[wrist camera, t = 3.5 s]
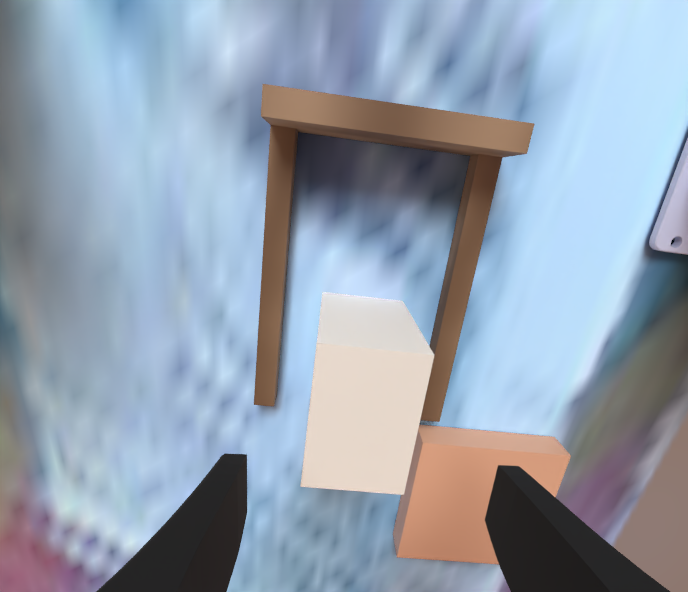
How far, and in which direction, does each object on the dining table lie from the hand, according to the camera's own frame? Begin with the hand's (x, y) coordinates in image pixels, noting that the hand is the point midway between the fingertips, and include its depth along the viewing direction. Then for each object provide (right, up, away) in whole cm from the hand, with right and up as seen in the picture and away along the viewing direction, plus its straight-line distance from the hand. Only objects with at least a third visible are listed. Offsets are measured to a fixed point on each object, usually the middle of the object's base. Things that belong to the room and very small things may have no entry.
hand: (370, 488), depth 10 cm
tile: (+7, -6, +11) cm, 14 cm away
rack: (0, +6, +7) cm, 10 cm away
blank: (0, +3, +8) cm, 9 cm away
